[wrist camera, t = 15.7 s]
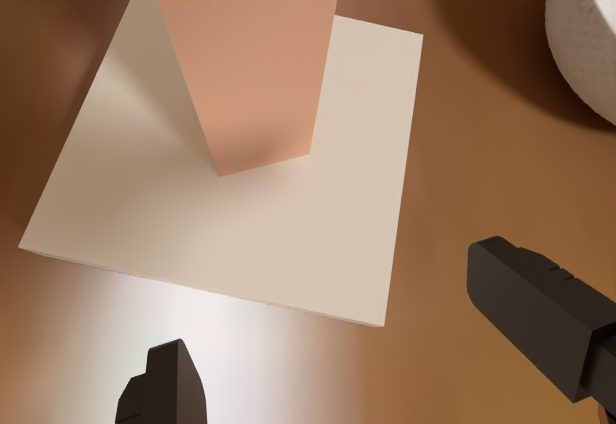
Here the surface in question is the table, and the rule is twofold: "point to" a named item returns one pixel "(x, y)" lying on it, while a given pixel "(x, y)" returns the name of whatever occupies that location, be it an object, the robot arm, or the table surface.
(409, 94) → the off-white board
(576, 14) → the cereal bowl
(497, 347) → the table surface
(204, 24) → the terracotta block
